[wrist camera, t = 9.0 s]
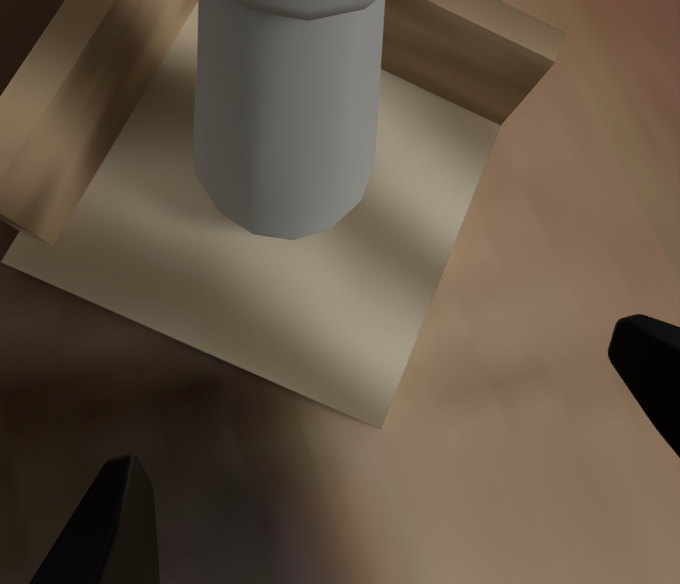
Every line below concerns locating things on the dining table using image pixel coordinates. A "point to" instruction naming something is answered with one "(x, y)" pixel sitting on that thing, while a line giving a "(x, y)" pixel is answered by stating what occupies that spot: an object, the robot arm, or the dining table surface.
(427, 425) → the dining table surface
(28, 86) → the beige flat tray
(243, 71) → the salt shaker
